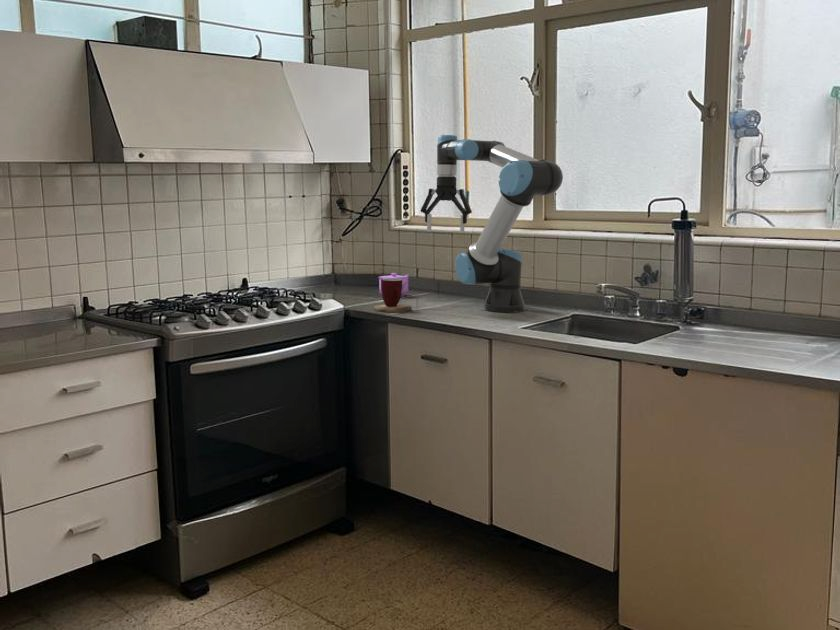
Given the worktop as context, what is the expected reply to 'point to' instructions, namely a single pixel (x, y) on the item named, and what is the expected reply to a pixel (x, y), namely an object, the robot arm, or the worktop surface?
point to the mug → (391, 291)
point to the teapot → (404, 278)
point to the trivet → (393, 308)
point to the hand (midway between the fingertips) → (445, 231)
